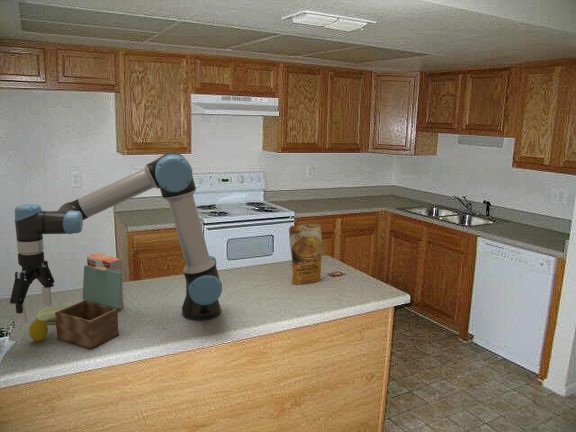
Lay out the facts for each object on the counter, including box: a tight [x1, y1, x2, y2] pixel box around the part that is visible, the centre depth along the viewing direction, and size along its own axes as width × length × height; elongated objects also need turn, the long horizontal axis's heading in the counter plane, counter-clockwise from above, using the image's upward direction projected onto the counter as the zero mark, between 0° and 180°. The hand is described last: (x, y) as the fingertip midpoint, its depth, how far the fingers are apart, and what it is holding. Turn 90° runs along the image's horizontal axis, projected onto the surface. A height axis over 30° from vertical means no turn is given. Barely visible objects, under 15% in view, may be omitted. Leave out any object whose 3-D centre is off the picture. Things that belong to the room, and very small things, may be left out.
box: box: [55, 300, 122, 351], centre depth 162 cm, size 17×13×10 cm
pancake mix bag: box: [288, 222, 323, 286], centre depth 222 cm, size 7×19×28 cm, turn 118°
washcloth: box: [36, 302, 78, 327], centre depth 179 cm, size 13×18×3 cm
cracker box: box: [86, 252, 124, 310], centre depth 187 cm, size 14×6×21 cm, turn 58°
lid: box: [82, 265, 123, 308], centre depth 165 cm, size 17×13×2 cm
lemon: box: [28, 318, 49, 343], centre depth 158 cm, size 6×6×8 cm
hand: (35, 313), depth 156 cm, fingers open, 13 cm apart
